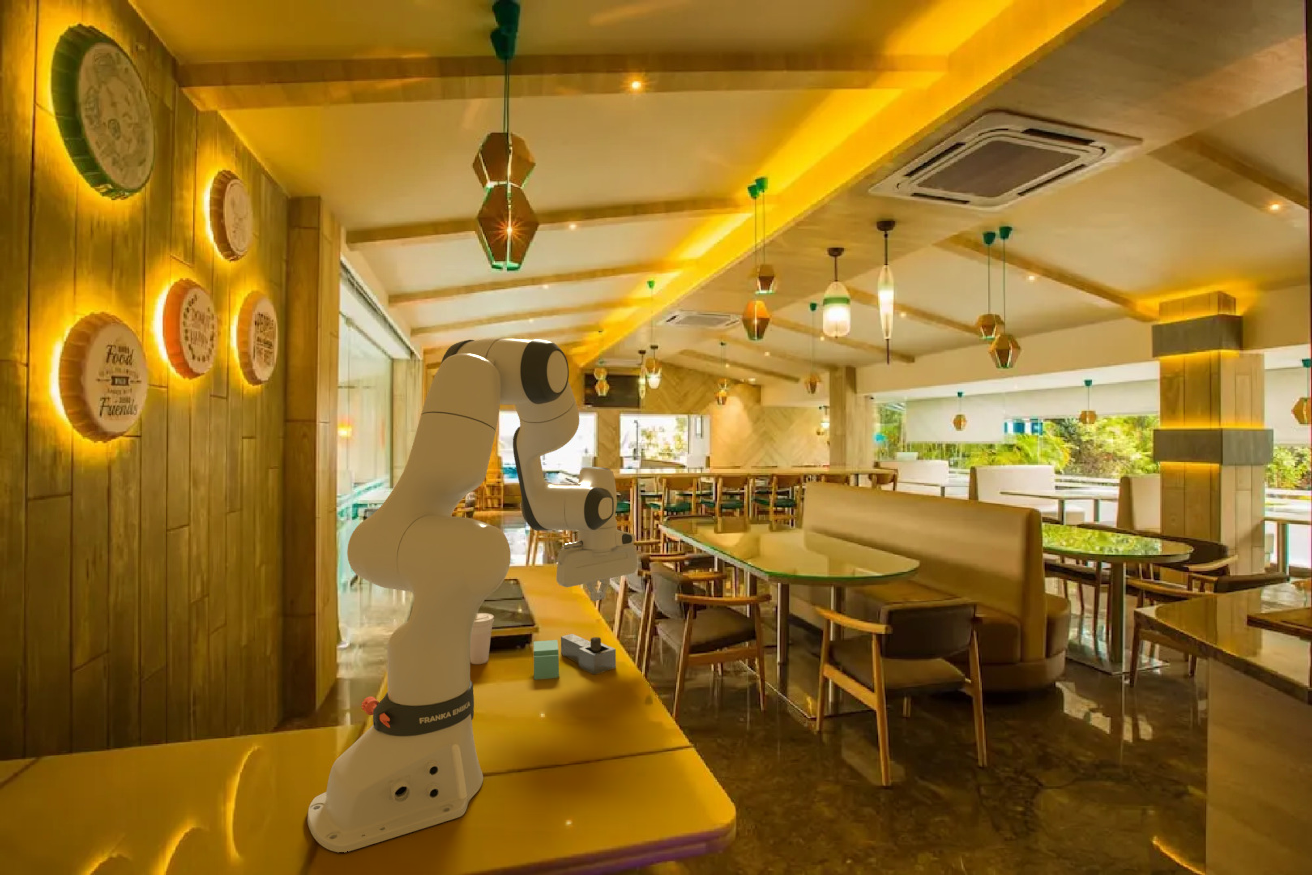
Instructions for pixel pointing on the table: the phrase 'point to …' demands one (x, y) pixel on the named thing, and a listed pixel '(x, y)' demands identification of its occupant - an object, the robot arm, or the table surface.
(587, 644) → the link
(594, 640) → the pintle
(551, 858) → the table surface
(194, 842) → the table surface
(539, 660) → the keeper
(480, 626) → the smoothie
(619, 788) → the table surface
